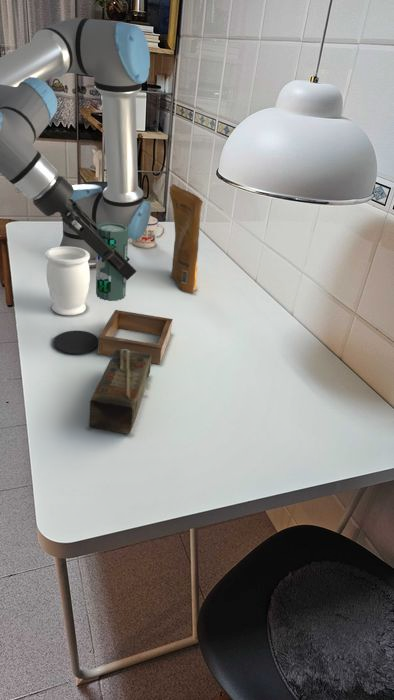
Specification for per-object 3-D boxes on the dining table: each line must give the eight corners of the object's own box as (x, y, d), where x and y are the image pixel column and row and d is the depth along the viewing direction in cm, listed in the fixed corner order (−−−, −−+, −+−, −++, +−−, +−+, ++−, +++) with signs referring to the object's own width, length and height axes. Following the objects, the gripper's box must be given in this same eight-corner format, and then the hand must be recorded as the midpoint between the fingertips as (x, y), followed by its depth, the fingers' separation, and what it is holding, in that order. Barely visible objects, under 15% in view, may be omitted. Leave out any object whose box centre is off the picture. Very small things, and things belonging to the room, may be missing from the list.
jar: (79, 321, 117) (79, 264, 109) (40, 313, 118) (37, 256, 110) (96, 304, 126) (96, 250, 118) (59, 297, 127) (57, 243, 119)
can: (94, 289, 105) (95, 222, 97) (121, 288, 107) (124, 223, 99) (98, 301, 100) (99, 231, 92) (127, 300, 102) (130, 232, 94)
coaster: (63, 329, 112) (63, 327, 112) (104, 336, 112) (104, 334, 112) (46, 350, 104) (46, 348, 103) (90, 358, 103) (91, 355, 103)
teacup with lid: (133, 248, 167) (134, 215, 161) (129, 239, 174) (130, 207, 168) (166, 248, 170) (169, 216, 164) (161, 240, 178) (163, 209, 172)
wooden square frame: (114, 325, 117) (115, 309, 115) (171, 334, 116) (172, 318, 114) (97, 354, 105) (97, 337, 103) (160, 364, 104) (161, 347, 102)
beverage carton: (151, 377, 100) (153, 350, 96) (131, 437, 83) (133, 407, 80) (114, 371, 100) (115, 344, 96) (87, 430, 83) (87, 400, 80)
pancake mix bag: (180, 296, 136) (191, 198, 122) (161, 271, 151) (168, 181, 137) (202, 295, 139) (214, 199, 124) (180, 270, 153) (190, 181, 139)
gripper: (29, 188, 96) (108, 264, 109) (32, 216, 80) (124, 299, 94) (55, 162, 95) (132, 242, 108) (64, 185, 79) (151, 274, 93)
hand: (128, 268), depth 101 cm, fingers closed on can, 6 cm apart
